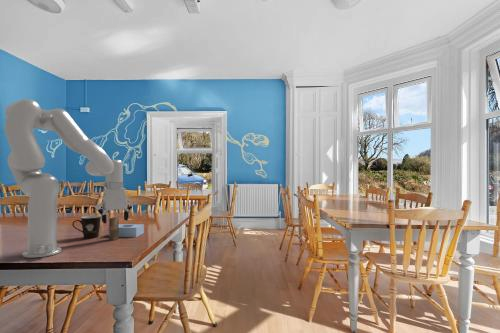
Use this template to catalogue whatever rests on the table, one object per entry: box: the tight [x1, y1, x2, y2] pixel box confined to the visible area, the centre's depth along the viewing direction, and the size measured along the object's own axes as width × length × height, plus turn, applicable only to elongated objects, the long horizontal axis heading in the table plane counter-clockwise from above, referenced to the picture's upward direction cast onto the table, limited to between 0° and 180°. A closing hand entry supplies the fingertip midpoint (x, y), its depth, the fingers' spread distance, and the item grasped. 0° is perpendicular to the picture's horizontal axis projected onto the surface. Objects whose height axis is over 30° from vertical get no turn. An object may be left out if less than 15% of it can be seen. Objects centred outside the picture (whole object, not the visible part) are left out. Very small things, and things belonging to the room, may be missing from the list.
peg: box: [108, 217, 120, 241], centre depth 143 cm, size 4×4×10 cm
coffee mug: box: [72, 215, 102, 240], centre depth 148 cm, size 12×9×10 cm
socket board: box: [119, 223, 145, 238], centre depth 153 cm, size 14×9×4 cm, turn 86°
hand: (115, 221), depth 144 cm, fingers open, 9 cm apart
